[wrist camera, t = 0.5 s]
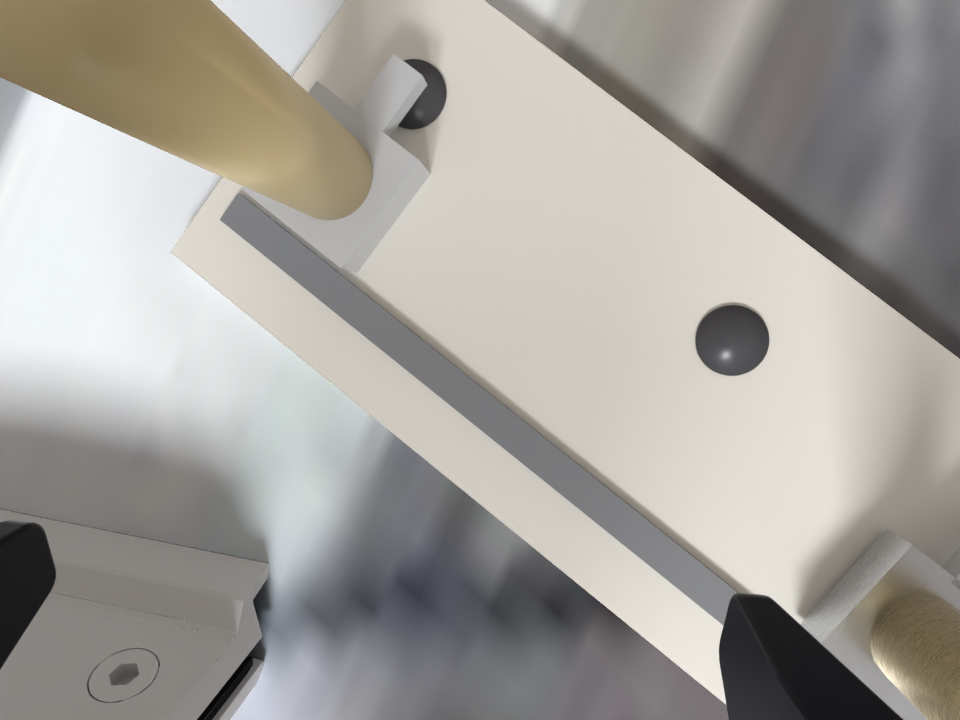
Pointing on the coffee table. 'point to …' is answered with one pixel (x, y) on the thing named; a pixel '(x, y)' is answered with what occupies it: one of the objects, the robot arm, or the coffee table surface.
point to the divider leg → (898, 628)
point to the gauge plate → (536, 297)
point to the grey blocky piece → (135, 632)
